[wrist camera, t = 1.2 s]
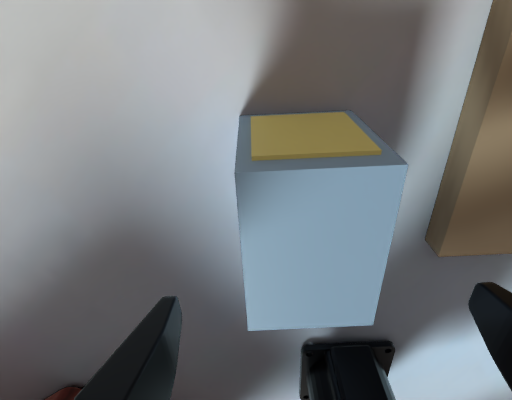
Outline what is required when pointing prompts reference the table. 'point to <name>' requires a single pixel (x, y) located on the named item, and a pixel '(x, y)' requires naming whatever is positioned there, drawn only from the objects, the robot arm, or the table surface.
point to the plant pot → (65, 394)
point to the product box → (314, 218)
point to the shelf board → (480, 154)
